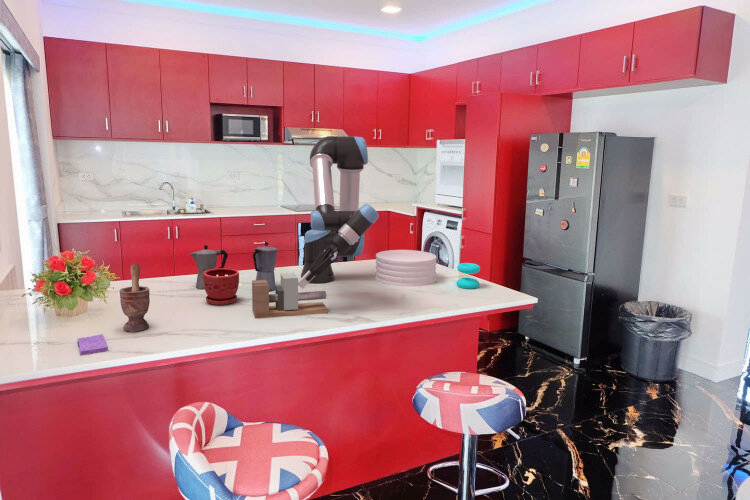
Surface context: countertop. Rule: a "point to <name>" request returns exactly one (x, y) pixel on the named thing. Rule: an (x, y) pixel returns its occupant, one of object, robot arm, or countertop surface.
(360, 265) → the countertop surface
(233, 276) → the plant pot
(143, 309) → the mortar and pestle
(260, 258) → the moka pot
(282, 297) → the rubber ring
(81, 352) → the sponges
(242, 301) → the countertop surface
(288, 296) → the sleeve
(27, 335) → the countertop surface
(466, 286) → the donuts
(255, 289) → the pipe rig
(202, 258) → the coffeepot
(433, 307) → the countertop surface
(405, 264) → the plate stack
